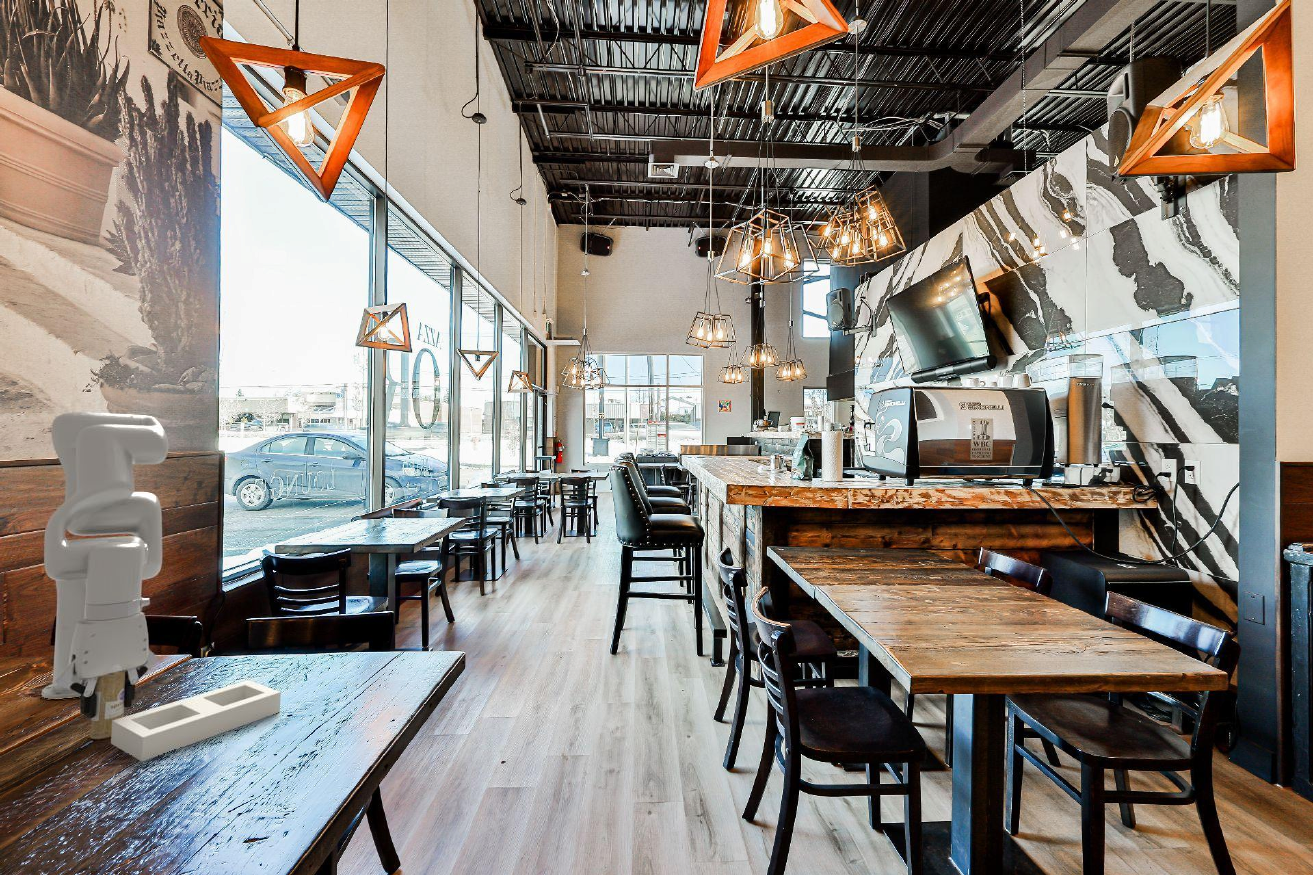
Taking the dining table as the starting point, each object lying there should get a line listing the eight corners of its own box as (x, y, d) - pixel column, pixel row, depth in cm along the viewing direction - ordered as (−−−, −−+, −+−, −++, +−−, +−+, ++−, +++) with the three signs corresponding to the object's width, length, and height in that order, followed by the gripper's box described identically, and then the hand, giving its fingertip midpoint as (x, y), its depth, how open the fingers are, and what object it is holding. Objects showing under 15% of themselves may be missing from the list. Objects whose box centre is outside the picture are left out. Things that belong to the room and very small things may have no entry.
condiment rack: (110, 743, 102) (112, 720, 102) (247, 699, 122) (248, 680, 122) (141, 761, 97) (143, 737, 97) (279, 712, 116) (280, 692, 116)
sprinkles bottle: (120, 736, 105) (124, 661, 105) (85, 742, 102) (90, 665, 103) (125, 726, 109) (129, 653, 109) (92, 732, 106) (96, 658, 107)
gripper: (160, 598, 116) (155, 691, 115) (41, 617, 101) (34, 724, 100) (178, 603, 112) (173, 699, 111) (57, 624, 97) (51, 735, 97)
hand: (107, 710), depth 106 cm, fingers closed on sprinkles bottle, 4 cm apart
